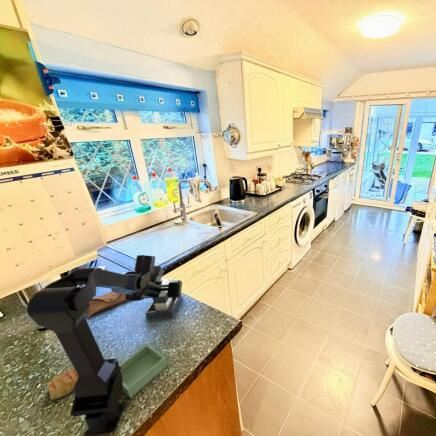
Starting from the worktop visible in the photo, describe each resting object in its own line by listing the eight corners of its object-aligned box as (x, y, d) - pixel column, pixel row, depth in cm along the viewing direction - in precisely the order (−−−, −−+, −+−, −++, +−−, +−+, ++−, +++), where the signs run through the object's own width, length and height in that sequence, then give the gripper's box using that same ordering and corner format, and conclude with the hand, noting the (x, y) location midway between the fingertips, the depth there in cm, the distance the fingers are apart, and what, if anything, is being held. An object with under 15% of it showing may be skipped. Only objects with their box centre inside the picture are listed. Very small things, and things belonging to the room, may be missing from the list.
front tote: (130, 398, 65) (127, 390, 63) (112, 380, 69) (108, 372, 68) (167, 365, 74) (165, 357, 72) (149, 351, 78) (147, 343, 77)
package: (168, 312, 94) (162, 288, 89) (156, 313, 93) (150, 288, 89) (173, 302, 99) (168, 278, 95) (162, 302, 99) (156, 279, 94)
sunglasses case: (86, 318, 90) (81, 302, 91) (88, 317, 96) (82, 301, 96) (139, 297, 102) (135, 282, 102) (138, 297, 107) (133, 283, 108)
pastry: (88, 364, 74) (84, 355, 72) (95, 377, 70) (92, 368, 69) (47, 389, 67) (42, 380, 65) (53, 405, 63) (48, 396, 62)
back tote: (173, 318, 92) (171, 311, 91) (146, 320, 91) (145, 312, 89) (182, 298, 102) (180, 292, 101) (158, 300, 101) (157, 293, 100)
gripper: (176, 263, 85) (189, 271, 99) (121, 266, 83) (142, 274, 97) (172, 295, 81) (186, 299, 95) (114, 299, 79) (137, 302, 93)
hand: (163, 292), depth 95 cm, fingers open, 8 cm apart
